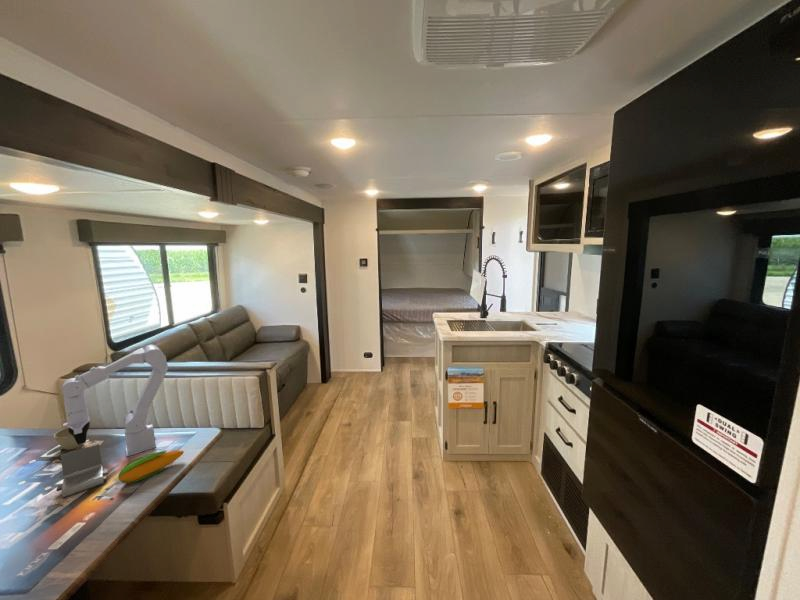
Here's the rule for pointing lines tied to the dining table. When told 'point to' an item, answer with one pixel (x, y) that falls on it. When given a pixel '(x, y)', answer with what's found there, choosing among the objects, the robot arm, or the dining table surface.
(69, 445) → the flower pot
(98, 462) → the lid
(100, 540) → the dining table surface
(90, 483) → the cooker
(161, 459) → the corn
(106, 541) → the dining table surface
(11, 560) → the dining table surface
